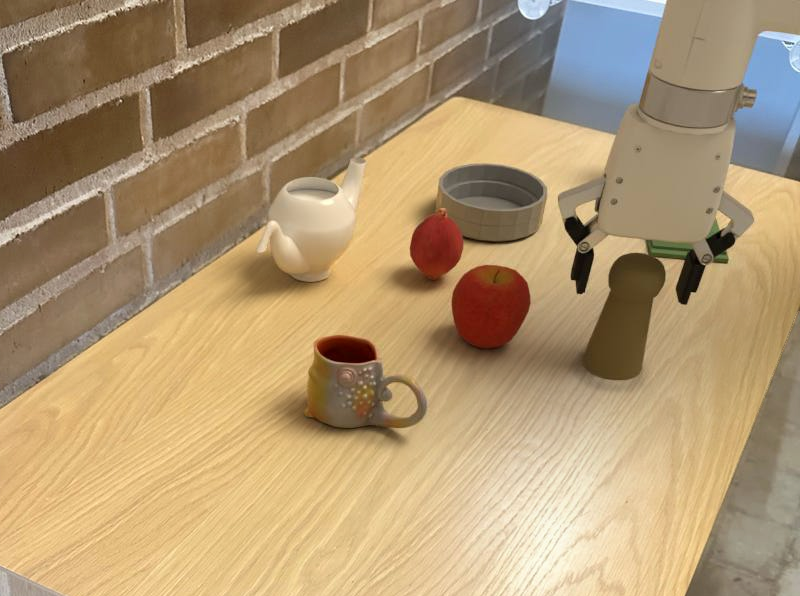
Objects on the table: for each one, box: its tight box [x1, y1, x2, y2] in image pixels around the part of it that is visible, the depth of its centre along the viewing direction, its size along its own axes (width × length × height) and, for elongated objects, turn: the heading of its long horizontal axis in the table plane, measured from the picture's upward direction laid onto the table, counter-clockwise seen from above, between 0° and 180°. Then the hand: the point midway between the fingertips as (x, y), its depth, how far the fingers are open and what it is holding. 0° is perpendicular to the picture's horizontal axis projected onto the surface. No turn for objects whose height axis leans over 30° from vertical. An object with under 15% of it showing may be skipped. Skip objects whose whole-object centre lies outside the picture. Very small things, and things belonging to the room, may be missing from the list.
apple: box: [450, 264, 531, 349], centre depth 98 cm, size 8×8×8 cm
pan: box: [434, 162, 548, 243], centre depth 118 cm, size 13×13×4 cm
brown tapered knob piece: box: [581, 252, 667, 381], centre depth 95 cm, size 6×6×11 cm
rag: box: [646, 216, 730, 264], centre depth 118 cm, size 9×12×1 cm
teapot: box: [255, 157, 367, 283], centre depth 106 cm, size 10×20×9 cm, turn 146°
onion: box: [409, 208, 464, 281], centre depth 106 cm, size 6×6×8 cm
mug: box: [303, 334, 428, 429], centre depth 88 cm, size 12×7×7 cm, turn 55°
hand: (629, 292), depth 93 cm, fingers open, 9 cm apart
